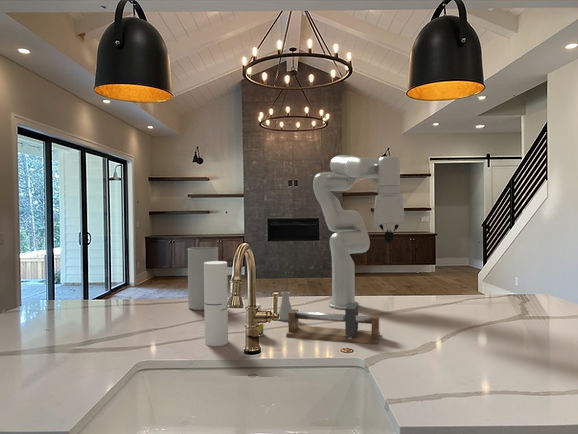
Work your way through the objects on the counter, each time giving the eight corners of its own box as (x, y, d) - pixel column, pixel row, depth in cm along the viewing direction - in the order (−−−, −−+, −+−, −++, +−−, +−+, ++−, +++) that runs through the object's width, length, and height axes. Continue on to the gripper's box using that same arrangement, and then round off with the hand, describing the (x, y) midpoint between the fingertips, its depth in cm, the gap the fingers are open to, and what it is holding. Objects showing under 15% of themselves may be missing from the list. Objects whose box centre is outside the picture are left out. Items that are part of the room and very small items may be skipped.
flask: (296, 316, 160) (295, 290, 160) (294, 321, 153) (294, 294, 153) (277, 316, 161) (277, 290, 160) (274, 321, 154) (274, 294, 153)
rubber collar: (345, 335, 130) (345, 308, 130) (349, 327, 138) (349, 302, 138) (355, 335, 129) (354, 309, 129) (358, 328, 137) (358, 303, 137)
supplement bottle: (244, 334, 138) (243, 303, 138) (259, 331, 140) (259, 301, 140) (249, 338, 133) (249, 307, 133) (265, 336, 135) (265, 305, 135)
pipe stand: (286, 336, 135) (286, 314, 135) (294, 328, 144) (294, 307, 144) (377, 344, 127) (377, 320, 127) (379, 334, 136) (379, 312, 136)
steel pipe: (292, 319, 138) (292, 311, 138) (294, 317, 140) (294, 309, 140) (375, 325, 130) (375, 317, 130) (375, 323, 133) (375, 314, 133)
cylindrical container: (202, 340, 131) (201, 261, 131) (224, 337, 134) (224, 260, 134) (207, 347, 125) (206, 264, 124) (230, 344, 128) (229, 263, 127)
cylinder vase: (223, 304, 181) (222, 247, 180) (211, 311, 169) (210, 250, 168) (196, 303, 184) (195, 246, 183) (183, 309, 172) (182, 249, 171)
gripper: (366, 191, 146) (366, 243, 146) (411, 190, 141) (411, 244, 142) (368, 192, 153) (368, 242, 153) (410, 191, 149) (410, 242, 149)
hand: (389, 243), depth 148 cm, fingers closed
